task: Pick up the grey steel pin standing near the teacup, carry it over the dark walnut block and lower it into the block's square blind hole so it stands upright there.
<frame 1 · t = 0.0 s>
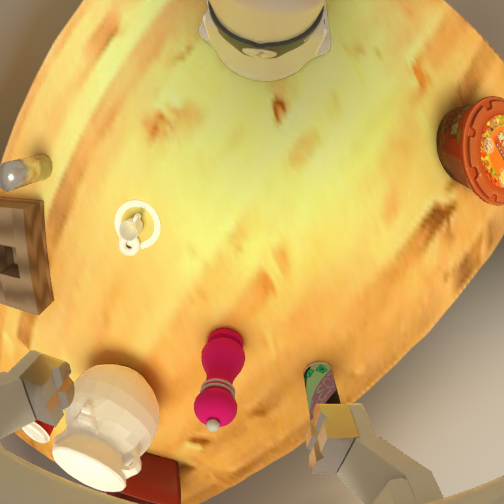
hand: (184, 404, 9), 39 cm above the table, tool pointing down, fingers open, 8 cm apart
pepper mill: (225, 341, 55), on the table
food container: (464, 145, 41), on the table
pin: (43, 167, 44), on the table
socket block: (25, 249, 49), on the table
plant pot: (154, 463, 73), on the table
spray can: (317, 370, 57), on the table
pitcher: (127, 379, 60), on the table
teacup and saucer: (121, 224, 48), on the table
coffee cup: (58, 393, 64), on the table
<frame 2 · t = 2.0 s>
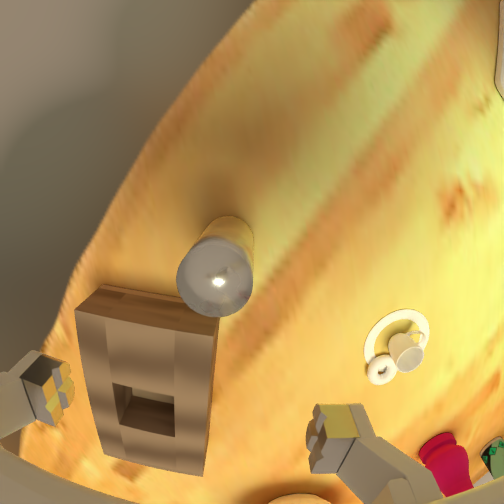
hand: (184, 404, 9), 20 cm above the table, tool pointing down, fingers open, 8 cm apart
pepper mill: (435, 444, 36), on the table
pin: (228, 240, 28), on the table
socket block: (159, 375, 32), on the table
spray can: (490, 445, 38), on the table
pitcher: (294, 503, 40), on the table
teacup and saucer: (369, 342, 31), on the table
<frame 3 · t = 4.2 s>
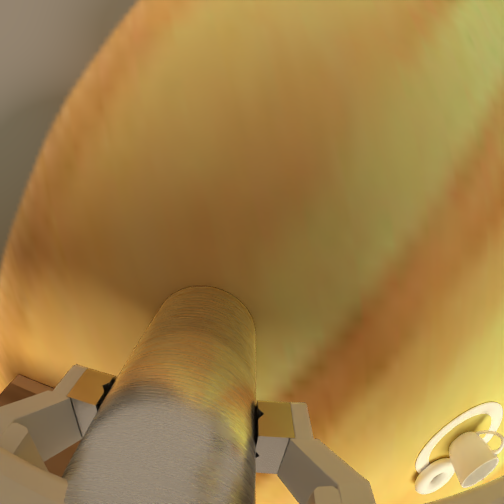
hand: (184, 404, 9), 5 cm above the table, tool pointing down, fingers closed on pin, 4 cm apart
pin: (204, 333, 13), on the table, touching gripper
socket block: (120, 488, 17), on the table
teacup and saucer: (425, 447, 17), on the table
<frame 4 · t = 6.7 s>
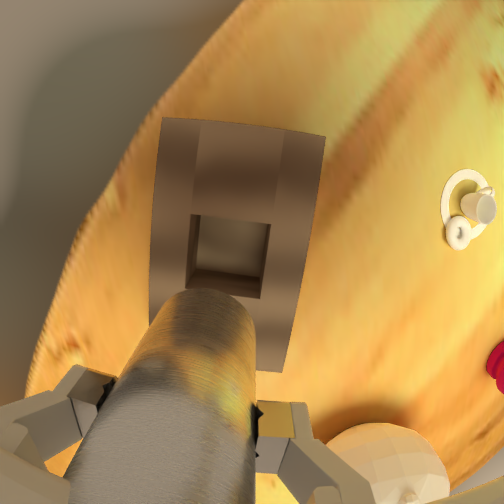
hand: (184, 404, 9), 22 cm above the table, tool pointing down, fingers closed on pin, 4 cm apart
pepper mill: (500, 355, 34), on the table
pin: (204, 334, 13), point 17 cm above the table, touching gripper
socket block: (232, 239, 30), on the table
pitcher: (358, 440, 38), on the table
teacup and saucer: (443, 203, 29), on the table
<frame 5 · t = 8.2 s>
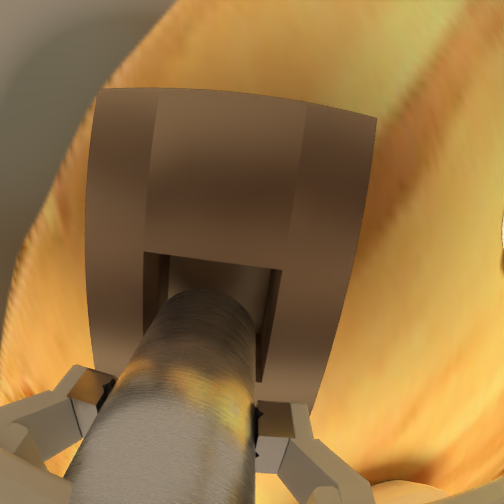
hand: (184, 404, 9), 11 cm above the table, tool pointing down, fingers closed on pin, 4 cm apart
pin: (204, 335, 13), point 7 cm above the table, touching gripper
socket block: (219, 278, 20), on the table
pitcher: (375, 496, 28), on the table
teacup and saucer: (503, 222, 19), on the table
when the fingers open (8 cm above the table, at t = 9.3 s): pin drops 2 cm, resting on socket block.
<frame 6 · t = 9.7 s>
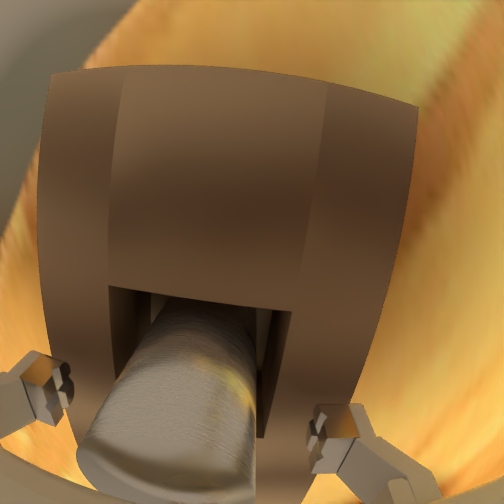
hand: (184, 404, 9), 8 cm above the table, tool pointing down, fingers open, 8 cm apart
pin: (211, 315, 15), point 1 cm above the table, touching socket block
socket block: (212, 306, 16), on the table
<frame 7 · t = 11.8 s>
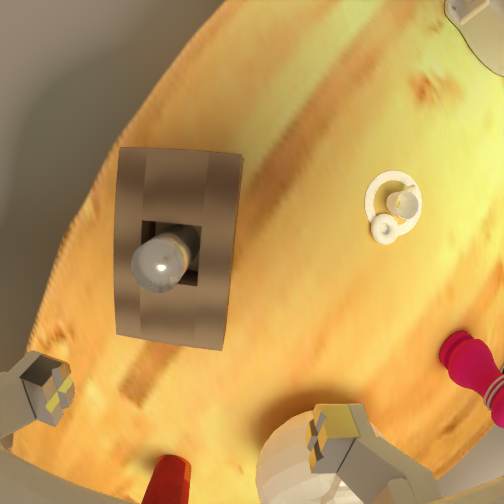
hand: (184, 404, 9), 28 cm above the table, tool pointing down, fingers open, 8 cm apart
pepper mill: (454, 347, 40), on the table
pin: (181, 243, 35), point 1 cm above the table, touching socket block
socket block: (182, 241, 36), on the table
pitcher: (315, 427, 43), on the table
teacup and saucer: (369, 203, 36), on the table
coffee cup: (175, 464, 45), on the table
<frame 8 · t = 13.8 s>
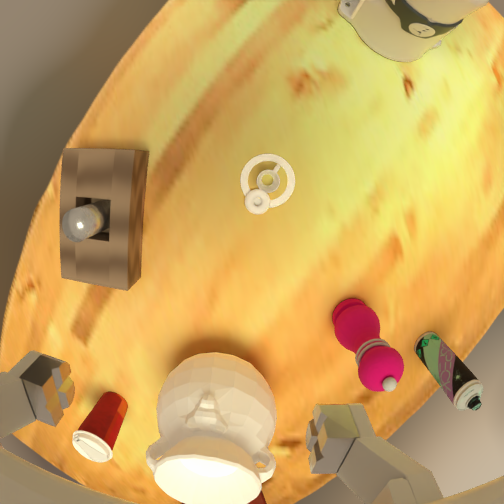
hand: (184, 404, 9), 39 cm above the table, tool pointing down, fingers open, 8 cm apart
pepper mill: (349, 314, 51), on the table
pin: (107, 213, 46), point 1 cm above the table, touching socket block
socket block: (109, 212, 47), on the table
spray can: (425, 343, 53), on the table
pitcher: (221, 374, 54), on the table
teacup and saucer: (246, 181, 46), on the table
coffee cup: (115, 401, 57), on the table
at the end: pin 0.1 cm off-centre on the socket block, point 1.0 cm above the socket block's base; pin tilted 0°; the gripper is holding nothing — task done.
